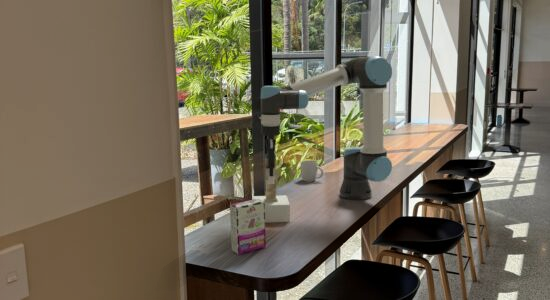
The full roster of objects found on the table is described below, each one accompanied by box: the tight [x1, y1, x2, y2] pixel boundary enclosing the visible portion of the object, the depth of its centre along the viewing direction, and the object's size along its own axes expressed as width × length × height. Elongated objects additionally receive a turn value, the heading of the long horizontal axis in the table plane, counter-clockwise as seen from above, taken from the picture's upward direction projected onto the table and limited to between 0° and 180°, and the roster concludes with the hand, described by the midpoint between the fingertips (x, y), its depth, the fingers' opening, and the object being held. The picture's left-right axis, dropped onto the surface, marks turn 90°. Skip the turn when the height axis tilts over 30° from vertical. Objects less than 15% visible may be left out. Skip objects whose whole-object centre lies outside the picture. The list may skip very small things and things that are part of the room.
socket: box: [252, 194, 291, 223], centre depth 200 cm, size 14×14×7 cm
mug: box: [300, 160, 324, 183], centre depth 262 cm, size 13×9×10 cm
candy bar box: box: [229, 199, 267, 255], centre depth 164 cm, size 11×5×16 cm, turn 126°
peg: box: [264, 153, 277, 200], centre depth 198 cm, size 4×4×18 cm
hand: (270, 182), depth 198 cm, fingers closed on peg, 4 cm apart
